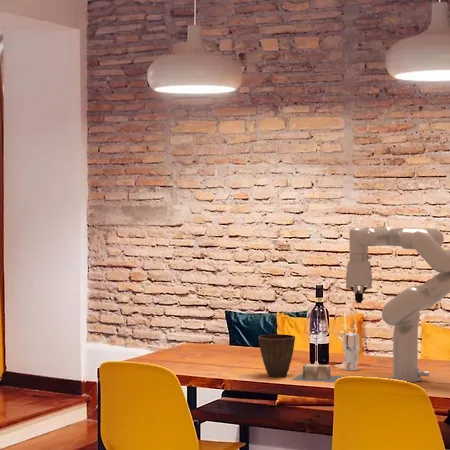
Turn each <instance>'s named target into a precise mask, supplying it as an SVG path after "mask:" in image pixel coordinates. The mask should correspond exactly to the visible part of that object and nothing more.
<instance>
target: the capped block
mask: <svg viewBox="0 0 450 450" xmlns="http://www.w3.org/2000/svg"><path fill="white" fill-rule="evenodd" d="M331 373H332V371H331V364H316V363H315V364H314V363H312V364H311V363H305V364H304V365H302V374H303V379H322V380H328V379H329V378H331V376H332V375H331Z"/></svg>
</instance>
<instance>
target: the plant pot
mask: <svg viewBox="0 0 450 450" xmlns="http://www.w3.org/2000/svg"><path fill="white" fill-rule="evenodd" d="M295 340H296V336H295V335H293V334H282V333H281V334H280V333H279V334H263V335H259V336H258V344H259V349H260V354H261V357H262V362H263V364H264V369H265V370H266V374H267V375H268V377H269V378H283V377H284V378H285V377H286V376H287V375H288V372H289V369H290V366H291V363H292V358H293V354H294V348H295V342H296V341H295Z"/></svg>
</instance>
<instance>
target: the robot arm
mask: <svg viewBox="0 0 450 450" xmlns="http://www.w3.org/2000/svg"><path fill="white" fill-rule="evenodd" d="M348 235H349V260H348V261H347V266H346V274H345V275H346V276H345V288H346V289H349V290H351V291H352V292H353V293H354V300H355V302H356V304H361V303H362V302H363V301H364V292H365V291H367V290H371V289H372V288H373V285H372V283H373V273H372V264H371V261H369V260H370V259H372V258H373V256H372V255H370V254H369V247H383V246H389V247H401V248H402V249H403V250H415V251H416V252H417V253H418V255H420V257H421V258H422V259H423V260H424V261H425V263H427V264H428V265H429V267H430V268H431V269H432V270H434V271H435V272H437V273H438V274H436V275H434V276H432V278H431V279H429V280H428V281H426V282H425V283H423V284H420V285H413V286H410V287H407V288H406V289H404V290H403V291H401V292H400V293H398V294H397V295H395V296H394V297H393V298H391V299H390V300H388V302H386V304H385V305H384V306H383V308H382V311H381V317H382V319H383V321H384V323H386V324H387V325H389V326H392V327H394V328H393V335H392V339H393V340H392V343H393V344H392V350H393V351H392V352H393V353H392V355H393V356H392V357H393V359H392V361H393V362H392V363H393V365H392V366H393V367H392V371H393V372H392V374H391V375H389V377H388V378H392V379H398V380H404V381H409V382H408V383H414V382H420V381H422V379H423V377H429V376H430V371H429V370H428V371H427V370H421V369H420V367H419V365H418V362H419V359H418V357H419V355H418V354H419V352H418V351H419V350H418V349H419V347H418V346H419V345H418V344H419V343H418V341H419V337H418V336H419V333H418V332H419V324H420V323H419V322H420V317H421V313H420V312H421V311H424V310H428V309H430V308H432V307H434V305H436V304H437V303H439V302H440V301H441V300H443V299H444V298H445V297H446V296H447V295H449V294H450V249H443V247H442V246H443V245H444V241H445V239H444V237H445V236H444V234H443V233H442V232H441V231H440V230H439V229H436V228H430V227H425V228H424V227H406V226H405V227H389V226H388V227H386V226H385V227H384V226H377V227H352V228H350V230H349V233H348ZM359 288H360V289H359Z"/></svg>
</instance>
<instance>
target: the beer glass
mask: <svg viewBox="0 0 450 450" xmlns="http://www.w3.org/2000/svg"><path fill="white" fill-rule="evenodd" d="M360 338H361V337H360V333H356V332H346V333H343V338H342V340H343V341H342V347H343V354H344V368H343V369H344V371H348V372H349V371H350V372H353V371H354V372H355V371H359V370H360V368H359V362H358V361H359V353H360V348H361V344H360V343H361V342H360V341H361V340H360Z"/></svg>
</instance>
